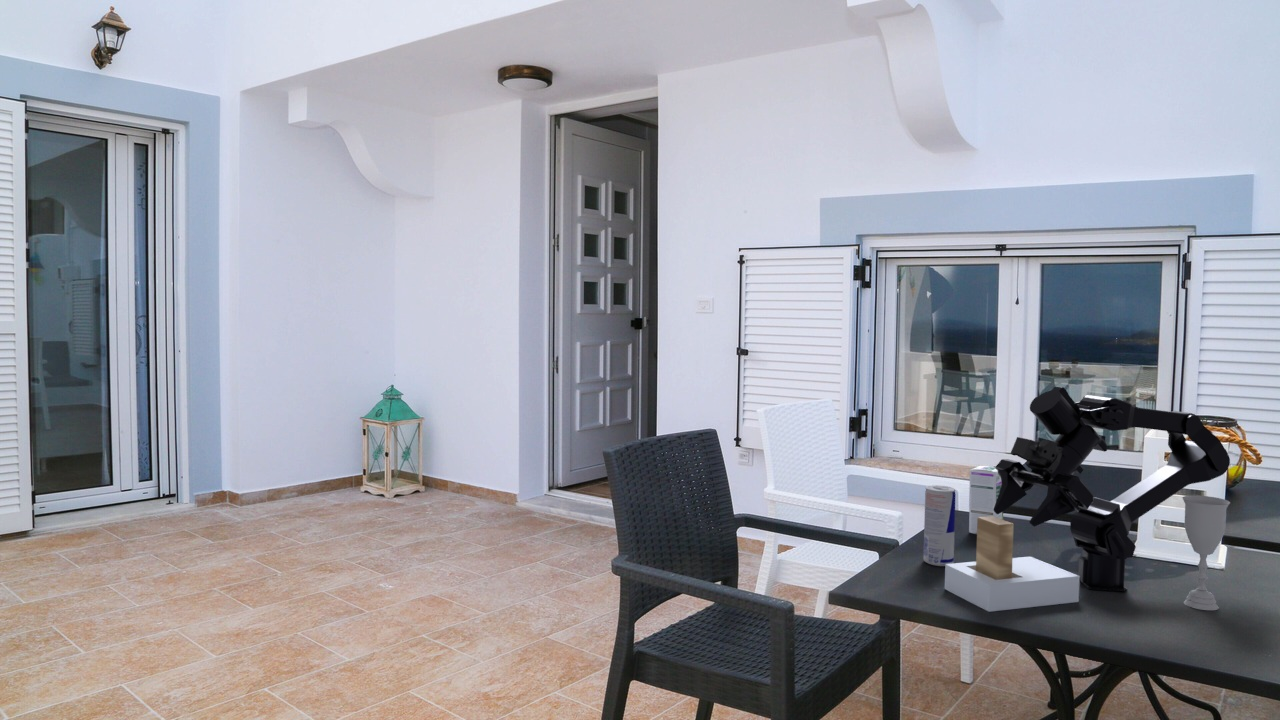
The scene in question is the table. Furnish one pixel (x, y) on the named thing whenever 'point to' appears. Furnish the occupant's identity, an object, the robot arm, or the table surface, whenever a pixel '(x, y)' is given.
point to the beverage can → (939, 525)
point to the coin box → (1013, 585)
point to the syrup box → (983, 494)
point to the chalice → (1204, 541)
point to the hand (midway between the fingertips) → (1012, 518)
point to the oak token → (994, 547)
